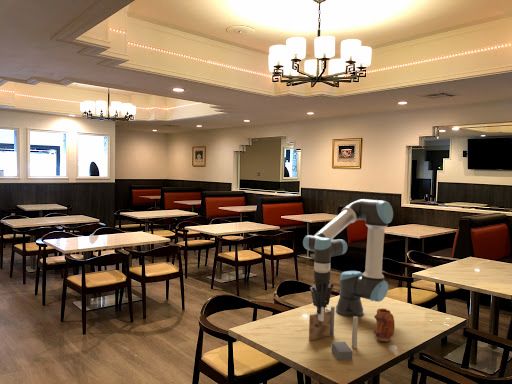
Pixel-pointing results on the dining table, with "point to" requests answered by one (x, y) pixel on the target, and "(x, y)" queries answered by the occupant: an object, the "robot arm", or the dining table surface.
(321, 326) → the door
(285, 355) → the dining table surface
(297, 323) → the dining table surface
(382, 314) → the mug
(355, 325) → the doorframe
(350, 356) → the block
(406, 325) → the dining table surface
